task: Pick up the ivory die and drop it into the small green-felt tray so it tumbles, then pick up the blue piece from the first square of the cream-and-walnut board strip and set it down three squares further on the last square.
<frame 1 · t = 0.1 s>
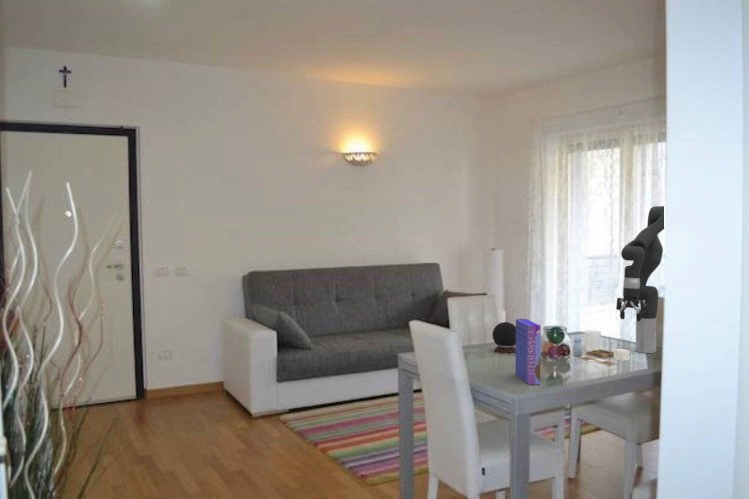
hand: (630, 320, 307), 17 cm above the table, tool pointing down, fingers open, 8 cm apart
board: (592, 360, 294), on the table
white cup: (592, 351, 316), on the table
blue piece: (577, 356, 301), point 1 cm above the table, touching board
die: (621, 360, 295), on the table
snow globe: (505, 352, 315), on the table
cereal box: (527, 380, 259), on the table
tray: (601, 356, 303), on the table
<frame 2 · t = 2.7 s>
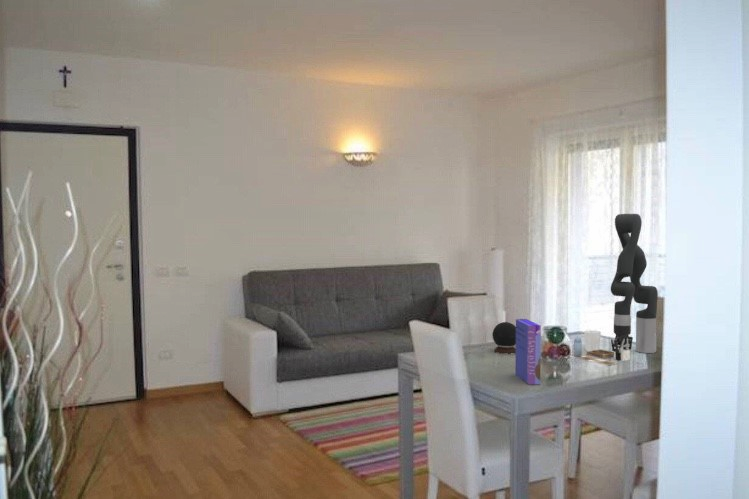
hand: (621, 359, 295), 0 cm above the table, tool pointing down, fingers closed on die, 5 cm apart
die: (621, 360, 295), on the table, touching gripper
everything else where it was.
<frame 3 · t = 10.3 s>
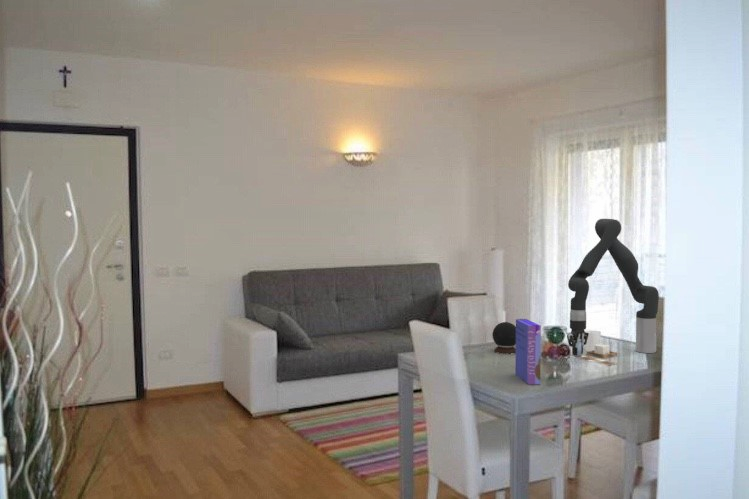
hand: (577, 354, 301), 2 cm above the table, tool pointing down, fingers closed on blue piece, 3 cm apart
blue piece: (577, 356, 301), point 1 cm above the table, touching board, gripper
die: (601, 355, 303), resting on tray
everything else where it was.
when the fingers open (3 cm above the table, at t = 15.3 s): blue piece drops 1 cm, resting on board.
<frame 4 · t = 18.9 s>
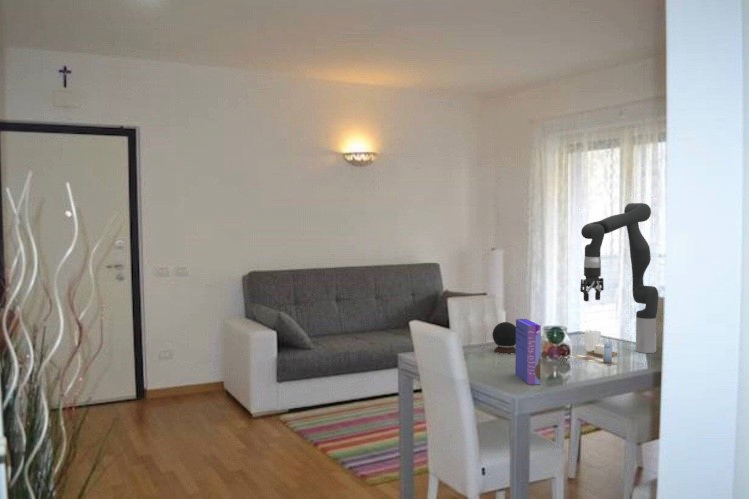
hand: (591, 300, 296), 28 cm above the table, tool pointing down, fingers open, 8 cm apart
blue piece: (607, 362, 287), point 1 cm above the table, touching board
everything else where it was.
at the end: blue piece 0.1 cm from the target spot on the board, point 0.6 cm above the board's base; blue piece tilted 1°; die inside the target area on the tray (0.1 cm from its centre), point 0.5 cm above the tray's base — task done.
